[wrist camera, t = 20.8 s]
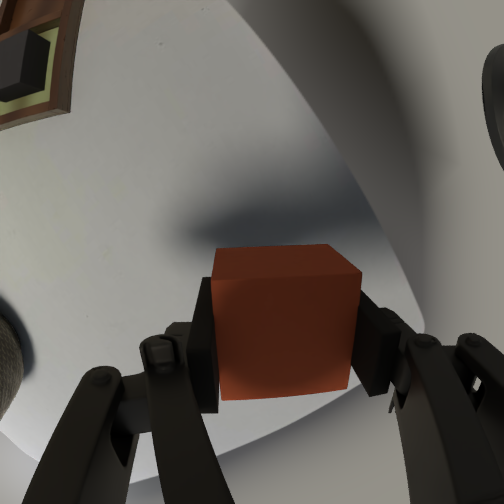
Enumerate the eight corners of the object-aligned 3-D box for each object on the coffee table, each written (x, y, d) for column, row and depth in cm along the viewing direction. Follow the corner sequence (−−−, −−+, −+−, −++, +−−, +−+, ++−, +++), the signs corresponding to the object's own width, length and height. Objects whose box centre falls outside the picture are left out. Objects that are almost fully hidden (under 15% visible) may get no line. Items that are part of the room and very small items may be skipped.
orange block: (328, 243, 15) (362, 272, 11) (322, 340, 17) (347, 389, 13) (216, 248, 15) (210, 280, 11) (222, 346, 17) (221, 400, 12)
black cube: (51, 42, 21) (28, 28, 16) (44, 90, 22) (19, 82, 18) (12, 56, 20) (-12, 47, 16) (6, 102, 22) (-20, 97, 18)
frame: (97, -49, 18) (89, -59, 16) (70, 112, 24) (57, 108, 21) (21, -19, 18) (11, -27, 15) (-7, 133, 23) (-22, 132, 21)
